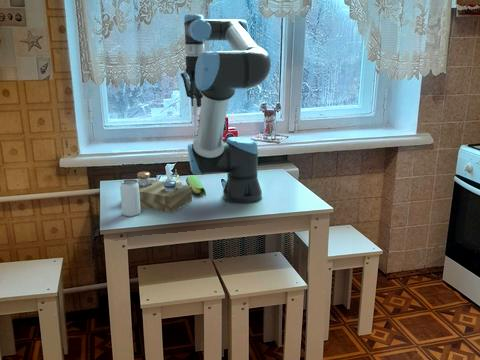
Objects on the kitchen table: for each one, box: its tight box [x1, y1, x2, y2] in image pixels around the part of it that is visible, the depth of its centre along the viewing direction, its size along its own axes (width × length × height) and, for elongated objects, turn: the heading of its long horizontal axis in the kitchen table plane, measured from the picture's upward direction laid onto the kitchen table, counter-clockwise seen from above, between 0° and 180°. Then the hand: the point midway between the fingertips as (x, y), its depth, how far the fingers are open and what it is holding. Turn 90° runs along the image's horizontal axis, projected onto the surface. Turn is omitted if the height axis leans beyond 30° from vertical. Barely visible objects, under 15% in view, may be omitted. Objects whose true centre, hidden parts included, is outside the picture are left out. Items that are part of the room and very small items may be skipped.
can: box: [119, 178, 141, 217], centre depth 180 cm, size 6×6×12 cm
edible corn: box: [185, 174, 207, 198], centre depth 206 cm, size 5×20×5 cm
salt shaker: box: [163, 180, 177, 192], centre depth 189 cm, size 5×5×8 cm
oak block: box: [137, 178, 193, 213], centre depth 192 cm, size 22×14×6 cm, turn 62°
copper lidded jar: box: [136, 171, 151, 188], centre depth 194 cm, size 5×5×8 cm
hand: (196, 114), depth 208 cm, fingers closed
